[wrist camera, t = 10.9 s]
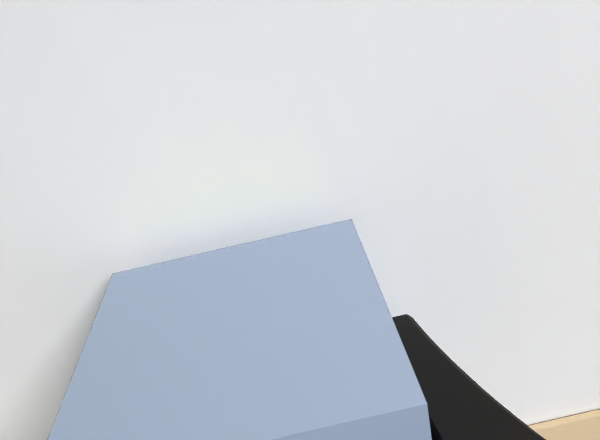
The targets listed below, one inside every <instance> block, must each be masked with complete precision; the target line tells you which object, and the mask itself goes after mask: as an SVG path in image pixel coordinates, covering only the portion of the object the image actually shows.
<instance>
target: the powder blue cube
mask: <svg viewBox="0 0 600 440" xmlns="http://www.w3.org/2000/svg"><path fill="white" fill-rule="evenodd" d="M47 440H432V437H431V429H430V422H429V414H428V406H427V402H426V400H425V397H424V395H423V392H422V390H421V387H420V385H419V383H418V380H417V378H416V375H415V373H414V370H413V368H412V365H411V363H410V361H409V358H408V356H407V353H406V351H405V348H404V346H403V343H402V341H401V339H400V336H399V334H398V331H397V329H396V326H395V324H394V321H393V319H392V317H391V314H390V312H389V309H388V307H387V304H386V302H385V299H384V297H383V295H382V292H381V290H380V287H379V285H378V282H377V280H376V277H375V275H374V273H373V270H372V268H371V265H370V263H369V260H368V258H367V255H366V253H365V251H364V248H363V246H362V243H361V241H360V238H359V236H358V234H357V231H356V229H355V226H354V224H353V221H352V219H349V220H345V221H341V222H336V223H332V224H327V225H323V226H319V227H314V228H310V229H306V230H301V231H297V232H293V233H288V234H284V235H279V236H275V237H271V238H266V239H262V240H258V241H253V242H249V243H245V244H240V245H236V246H231V247H227V248H223V249H218V250H214V251H210V252H205V253H201V254H197V255H192V256H188V257H183V258H179V259H175V260H170V261H166V262H162V263H157V264H153V265H149V266H144V267H140V268H135V269H131V270H127V271H122V272H118V273H114V274H112V277H111V279H110V282H109V284H108V287H107V289H106V292H105V294H104V297H103V300H102V302H101V305H100V307H99V310H98V312H97V315H96V317H95V320H94V322H93V325H92V327H91V330H90V333H89V335H88V338H87V340H86V343H85V345H84V348H83V350H82V353H81V355H80V358H79V360H78V363H77V365H76V368H75V371H74V373H73V376H72V378H71V381H70V383H69V386H68V388H67V391H66V393H65V396H64V398H63V401H62V404H61V406H60V409H59V411H58V414H57V416H56V419H55V421H54V424H53V426H52V429H51V431H50V434H49V436H48V439H47Z"/></svg>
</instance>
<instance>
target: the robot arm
mask: <svg viewBox="0 0 600 440" xmlns="http://www.w3.org/2000/svg"><path fill="white" fill-rule="evenodd" d="M392 319H393V321H394V324H395V326H396V329H397V331H398V334H399V336H400V339H401V341H402V343H403V346H404V348H405V351H406V353H407V356H408V358H409V361H410V363H411V365H412V368H413V370H414V373H415V375H416V378H417V380H418V383H419V385H420V387H421V390H422V392H423V395H424V397H425V400H426V402H427V406H428V414H429V422H430V429H431V437H432V440H546V439H545V438H543V437H542V436H541V435H539V434H538V433H537V432H535V431H534V430H533V429H531V428H530V427H529V426H527V425H526V424H525V423H524V422H522V421H521V420H520V419H518V418H517V417H516V416H515V415H513V414H512V413H511V412H510V411H509V410H507V409H506V408H505V407H504V406H502V405H501V404H500V403H499V402H498V401H496V400H495V399H494V398H493V397H492V396H490V395H489V394H488V393H487V392H486V391H485V390H484V389H482V388H481V387H480V386H479V385H478V384H477V383H476V382H475V381H474V380H472V379H471V378H470V377H469V376H468V375H467V374H466V373H465V372H464V371H463V370H462V369H460V368H459V367H458V366H457V365H456V364H455V363H454V362H453V361H452V360H451V359H450V358H449V357H448V356H447V355H446V354H445V353H444V352H443V351H442V350H441V349H440V348H439V347H438V346H437V345H436V344H435V343H434V342H433V341H432V339H431V338H430V337H429V336H428V335H427V334H426V333H425V332H424V331H423V330H422V328H421V327H420V326H419V325H418V324H417V323H416V321H415V320H414V319H413V318H412V317H411V316H409V315H407V314H405V315H401V316H396V317H392Z"/></svg>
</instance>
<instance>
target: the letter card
mask: <svg viewBox="0 0 600 440" xmlns="http://www.w3.org/2000/svg"><path fill="white" fill-rule="evenodd" d="M529 427H530V428H531V429H533V430H534V431H535V432H537V433H538V434H539V435H541V436H542V437H543V438H545V439H546V440H600V409H599V410H595V411H590V412H586V413H582V414H577V415H573V416H568V417H564V418H560V419H555V420H551V421H547V422H542V423H538V424H534V425H529Z"/></svg>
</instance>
